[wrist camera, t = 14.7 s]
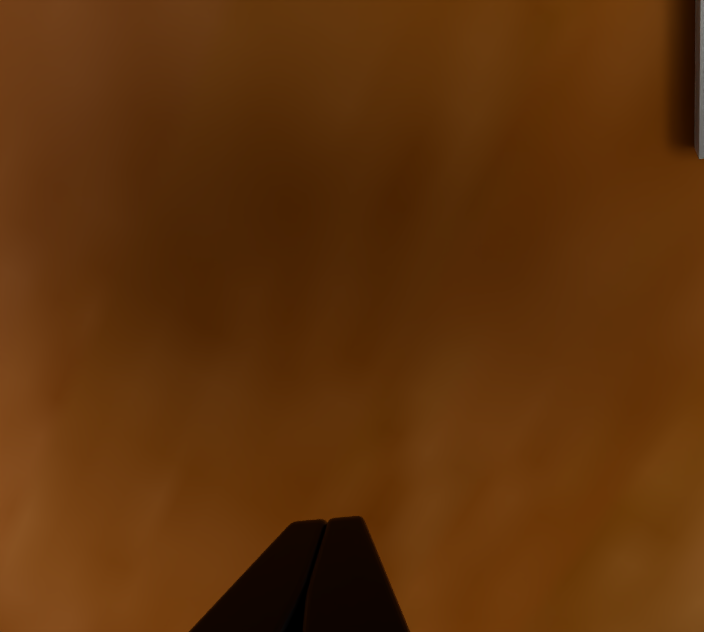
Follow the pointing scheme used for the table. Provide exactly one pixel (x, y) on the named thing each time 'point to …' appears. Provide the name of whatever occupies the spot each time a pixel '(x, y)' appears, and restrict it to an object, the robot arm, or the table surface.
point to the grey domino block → (699, 79)
